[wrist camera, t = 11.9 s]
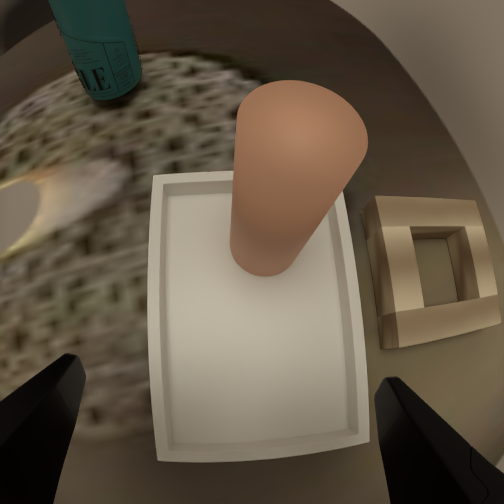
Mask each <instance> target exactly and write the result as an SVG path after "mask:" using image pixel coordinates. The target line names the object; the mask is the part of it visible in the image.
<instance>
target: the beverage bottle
mask: <svg viewBox="0 0 504 504" xmlns="http://www.w3.org/2000/svg"><path fill="white" fill-rule="evenodd" d="M49 2H50V5H51V7H52V10H53V12H54V15H55V17H54V18H56V20H55V21H56V22H57V24H58V26H57V27H58V28H59V29H60V31H59V32H60V34H62V35H61V36H63V39H64V41H65V44H66V46H67V48H68V52H69V55H71V58H72V60H73V61H72V63H73V62H74V66H75V67H76V69H75V71H76V73H77V75H78V77H79V76H80V77H79V80H80V82H81V83H82V85H83V88H85V89H86V90H85V89H84V90H85V91H86V92H87V93H88V94H89V96H91V97H92V98H94V99H96V100H110V99H114V98H117V97H119V96H122V95H124V94H125V93H127V92H129V91H130V90H131V89H132V88H134V87H135V86H136V85H137V83H138V82H139V80H140V78H141V72H142V69H143V68H141V64H140V62H141V61H140V60H141V59H140V60H139V58H140V57H139V56H138V55H139V53H138V52H137V50H138V48H136V46H137V45H136V44H135V42H136V40H134V36H135V35H134V36H133V32H132V28H131V24H130V20H129V17H130V16H129V17H128V13H127V9H126V4H125V0H49ZM130 19H131V18H130ZM133 30H134V29H133ZM134 34H135V33H134ZM135 38H136V37H135ZM137 47H138V46H137ZM141 63H142V62H141ZM142 66H143V65H142ZM75 67H74V68H75ZM80 78H81V79H80ZM81 80H82V81H81Z"/></svg>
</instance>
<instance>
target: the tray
mask: <svg viewBox="0 0 504 504" xmlns="http://www.w3.org/2000/svg"><path fill="white" fill-rule="evenodd" d="M233 172H234V171H219V172H197V173H179V174H165V175H153V187H152V199H151V213H150V229H149V251H148V352H149V373H150V389H151V403H152V415H153V425H154V435H155V444H156V452H157V460H158V461H169V462H234V461H251V460H263V459H274V458H283V457H291V456H299V455H306V454H312V453H318V452H324V451H330V450H335V449H340V448H345V447H350V446H354V445H359V444H363V443H367V442H369V401H368V381H367V366H366V353H365V341H364V330H363V321H362V311H361V303H360V295H359V287H358V279H357V272H356V265H355V259H354V252H353V246H352V240H351V234H350V228H349V222H348V217H347V211H346V206H345V201H344V196H343V191H342V192H341V193H340V195H339V196H338V198H337V199H336V201H335V202H334V204H333V205H332V207H331V208H330V210H329V211H328V213H327V214H326V216H325V217H324V218H323V220H322V221H321V223H320V224H319V226H318V227H317V229H316V230H315V232H314V233H313V234H312V236H311V237H310V239H309V240H308V242H307V243H306V244H305V246H304V247H303V249H302V250H301V252H300V253H299V254H298V256H297V257H296V259H295V260H294V261H293V263H292V264H291V265H290V266H289V268H287V269H286V270H285V271H283V272H282V273H279V274H277V275H274V276H266V277H264V276H257V275H253V274H251V273H249V272H247V271H245V270H244V269H242V268H241V267H240V266H239V265H238V264H237V262H236V261H235V259H234V258H233V256H232V253H231V250H230V226H231V207H232V189H233Z"/></svg>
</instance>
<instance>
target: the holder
mask: <svg viewBox="0 0 504 504" xmlns="http://www.w3.org/2000/svg"><path fill="white" fill-rule="evenodd" d="M361 215H362V220H363V225H364V231H365V236H366V242H367V247H368V253H369V259H370V266H371V272H372V279H373V286H374V293H375V301H376V309H377V318H378V327H379V337H380V348H381V349H390V348H401V347H406V346H411V345H416V344H420V343H425V342H430V341H434V340H439V339H443V338H447V337H451V336H455V335H459V334H463V333H467V332H471V331H475V330H478V329H482V328H486V327H489V326H493V325H496V324H499V323H501V315H500V307H499V300H498V294H497V288H496V282H495V276H494V271H493V266H492V261H491V257H490V252H489V248H488V244H487V240H486V236H485V232H484V228H483V225H482V221H481V217H480V214H479V211H478V207H477V204H476V201H471V200H457V199H440V198H420V197H395V196H374V198H373V199H372V200H371V201H370V202H369V203H368V205H367V206H366V207H365V208H364V209H363V210H362V212H361ZM433 238H446V239H447V243H448V247H449V252H450V257H451V261H452V266H453V272H454V277H455V283H456V289H457V295H458V302H455V303H449V304H444V305H438V306H431V307H425V308H424V303H423V296H422V290H421V283H420V277H419V271H418V266H417V260H416V255H415V250H414V245H413V240H412V239H433Z"/></svg>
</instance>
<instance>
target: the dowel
mask: <svg viewBox="0 0 504 504" xmlns="http://www.w3.org/2000/svg"><path fill="white" fill-rule="evenodd" d="M367 147H368V137H367V131H366V128H365V125H364V123H363V121H362V119H361V118H360V116H359V115H358V113H357V112H356V111H355V109H354V108H353V107H352V106H351V105H350V104H349V103H348V102H347V101H345V100H344V99H343V98H342V97H340V96H339V95H337V94H336V93H334V92H332V91H330V90H328V89H326V88H324V87H321V86H319V85H316V84H312V83H308V82H303V81H294V80H284V81H276V82H271V83H268V84H265V85H262V86H260V87H258V88H256V89H255V90H253V91H252V92H251V93H250V94H248V95H247V96H246V98H245V99H244V100H243V101H242V103H241V105H240V107H239V110H238V114H237V125H236V140H235V155H234V172H233V189H232V207H231V226H230V250H231V253H232V256H233V258H234V259H235V261H236V262H237V264H238V265H239V266H240V267H241V268H242V269H244V270H245V271H247V272H249V273H251V274H253V275H257V276H264V277H266V276H274V275H277V274H279V273H282V272H283V271H285V270H286V269H287V268H289V266H290V265H291V264H292V263H293V261H294V260H295V259H296V257H297V256H298V254H299V253H300V252H301V250H302V249H303V247H304V246H305V244H306V243H307V242H308V240H309V239H310V237H311V236H312V234H313V233H314V232H315V230H316V229H317V227H318V226H319V224H320V223H321V221H322V220H323V218H324V217H325V216H326V214H327V213H328V211H329V210H330V208H331V207H332V205H333V204H334V202H335V201H336V199H337V198H338V196H339V195H340V193H341V192H342V190H343V189H344V187H345V186H346V185H347V183H348V182H349V180H350V179H351V177H352V176H353V174H354V172H355V171H356V169H357V168H358V166H359V165H360V163H361V162H362V160H363V158H364V157H365V154H366V152H367Z"/></svg>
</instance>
